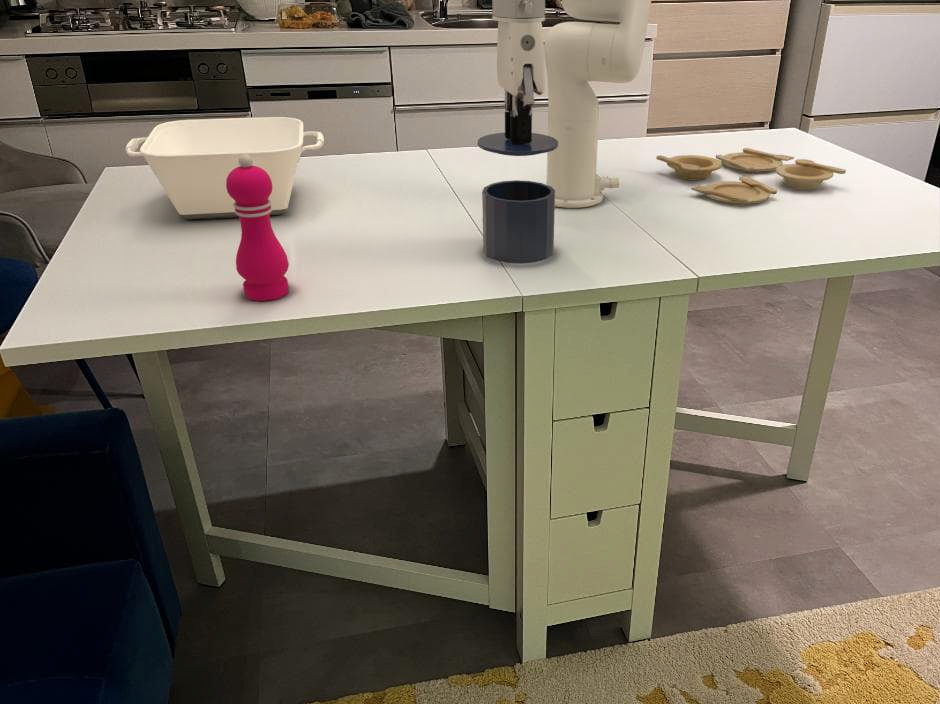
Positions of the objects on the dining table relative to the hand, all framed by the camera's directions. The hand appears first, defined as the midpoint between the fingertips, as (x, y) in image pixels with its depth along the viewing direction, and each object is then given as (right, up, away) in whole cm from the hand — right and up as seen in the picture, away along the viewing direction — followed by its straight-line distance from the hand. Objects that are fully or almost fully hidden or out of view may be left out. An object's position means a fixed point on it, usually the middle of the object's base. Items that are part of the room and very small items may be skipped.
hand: (518, 139), depth 128 cm
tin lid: (0, -1, 0) cm, 1 cm away
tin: (0, -16, +10) cm, 18 cm away
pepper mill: (-37, -24, -6) cm, 44 cm away
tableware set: (+47, +7, +49) cm, 68 cm away
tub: (-53, -3, +29) cm, 61 cm away
